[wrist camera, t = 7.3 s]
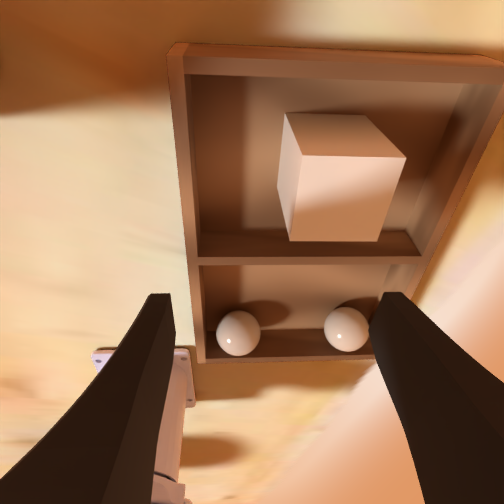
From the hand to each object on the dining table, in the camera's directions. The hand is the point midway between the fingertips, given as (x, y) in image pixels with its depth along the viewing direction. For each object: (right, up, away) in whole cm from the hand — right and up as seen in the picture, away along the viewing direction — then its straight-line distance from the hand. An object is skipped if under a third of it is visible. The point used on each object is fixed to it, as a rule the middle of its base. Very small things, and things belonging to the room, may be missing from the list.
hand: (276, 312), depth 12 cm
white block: (+3, +7, +6) cm, 10 cm away
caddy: (+2, +3, +10) cm, 11 cm away
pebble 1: (-2, -3, +14) cm, 14 cm away
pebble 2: (+6, -3, +14) cm, 16 cm away
